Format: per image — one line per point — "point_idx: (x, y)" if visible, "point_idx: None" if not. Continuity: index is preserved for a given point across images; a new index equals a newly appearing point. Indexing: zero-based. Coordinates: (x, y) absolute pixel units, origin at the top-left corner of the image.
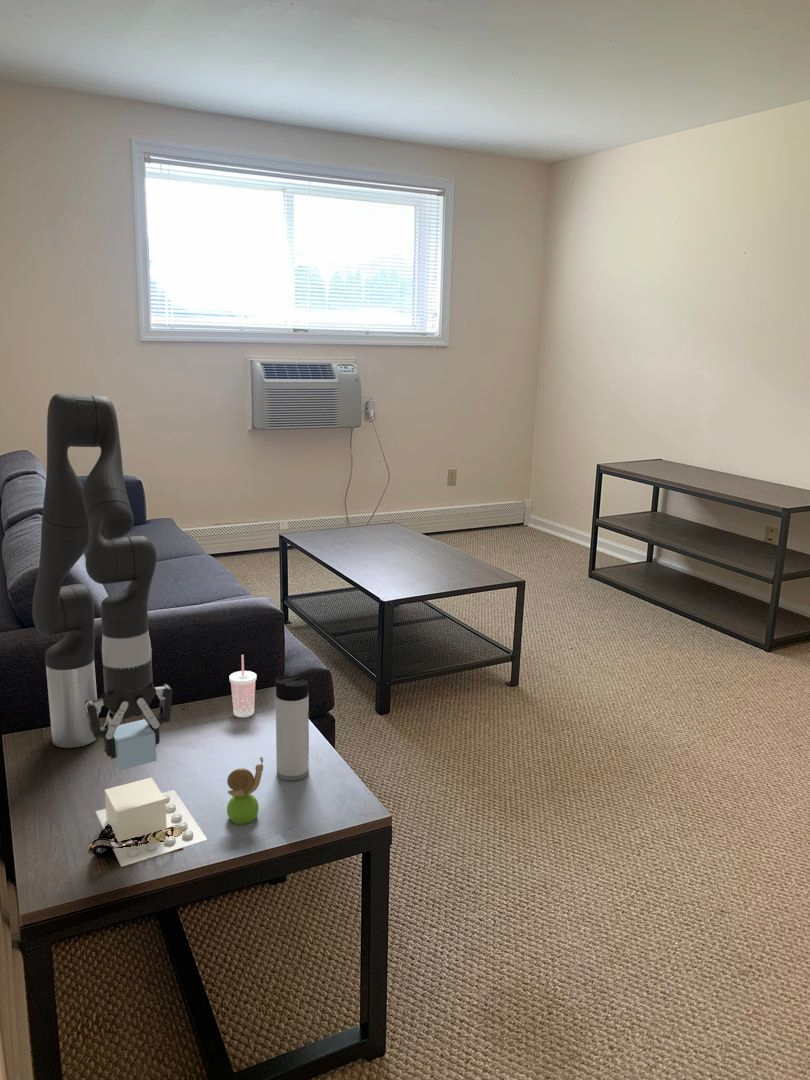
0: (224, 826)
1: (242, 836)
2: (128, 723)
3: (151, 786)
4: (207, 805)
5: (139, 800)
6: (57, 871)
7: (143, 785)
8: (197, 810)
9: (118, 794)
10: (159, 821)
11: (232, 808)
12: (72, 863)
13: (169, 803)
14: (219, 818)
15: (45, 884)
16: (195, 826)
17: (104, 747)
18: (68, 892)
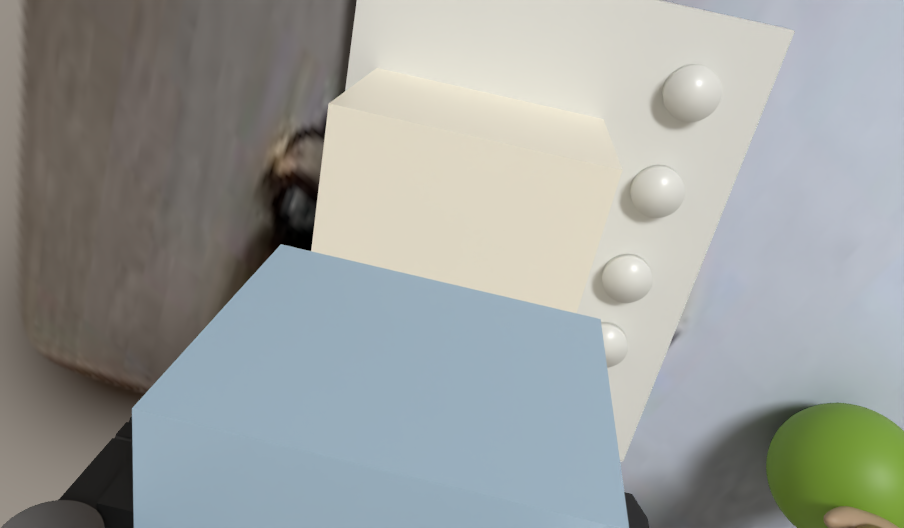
0: (747, 401)
1: (745, 487)
2: (394, 488)
3: (560, 261)
4: (820, 231)
5: None
6: (129, 221)
7: (531, 221)
8: (758, 234)
9: (374, 209)
10: None
11: (787, 501)
12: (186, 214)
13: (684, 140)
14: (776, 347)
15: (82, 260)
16: (646, 369)
17: (127, 426)
18: (140, 346)
